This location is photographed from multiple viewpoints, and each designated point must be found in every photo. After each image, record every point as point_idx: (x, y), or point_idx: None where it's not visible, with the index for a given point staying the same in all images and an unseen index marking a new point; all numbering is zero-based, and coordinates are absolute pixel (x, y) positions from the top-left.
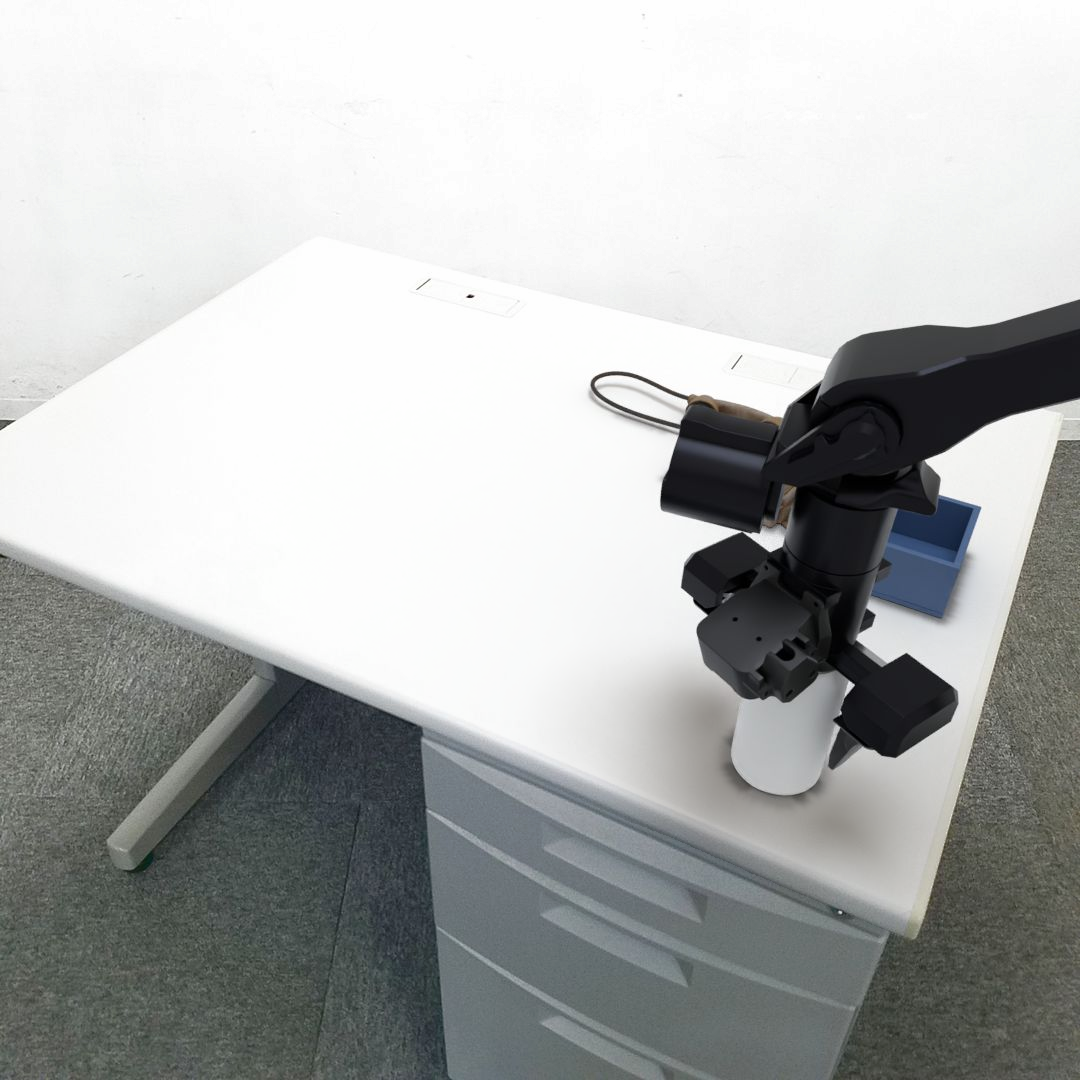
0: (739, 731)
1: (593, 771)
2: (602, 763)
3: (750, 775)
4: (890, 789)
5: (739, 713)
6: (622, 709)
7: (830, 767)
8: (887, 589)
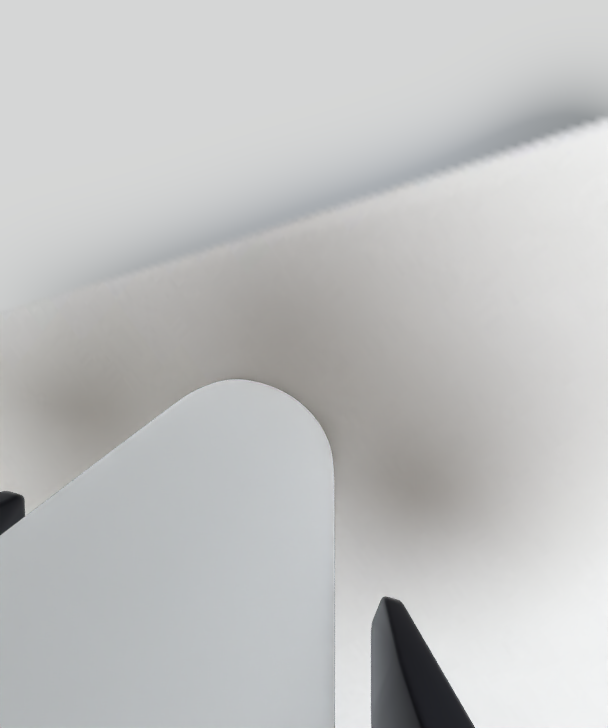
0: (283, 456)
1: (561, 154)
2: (553, 195)
3: (237, 387)
4: None
5: (302, 509)
6: (597, 373)
7: (3, 495)
8: None
